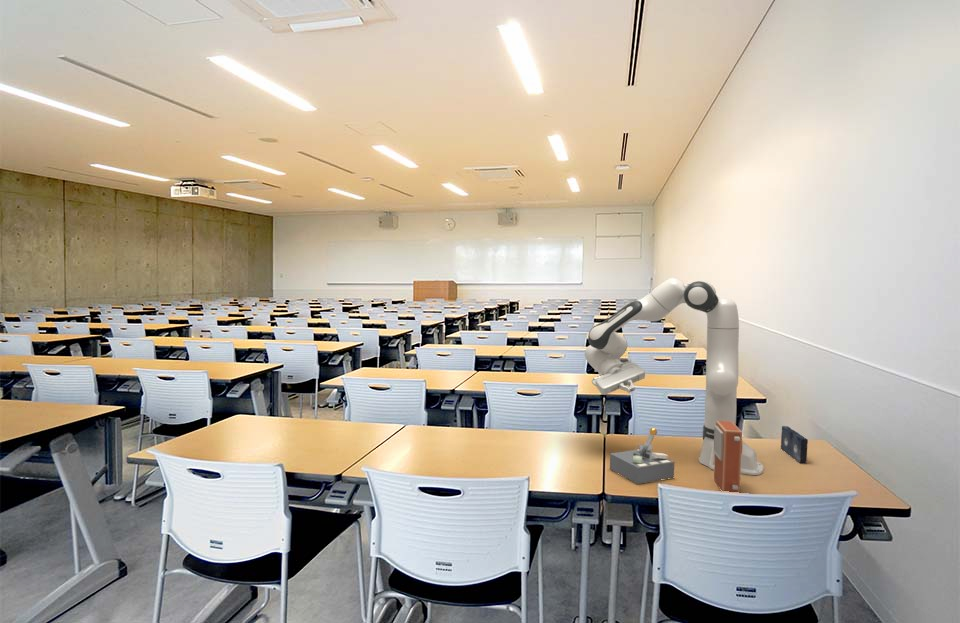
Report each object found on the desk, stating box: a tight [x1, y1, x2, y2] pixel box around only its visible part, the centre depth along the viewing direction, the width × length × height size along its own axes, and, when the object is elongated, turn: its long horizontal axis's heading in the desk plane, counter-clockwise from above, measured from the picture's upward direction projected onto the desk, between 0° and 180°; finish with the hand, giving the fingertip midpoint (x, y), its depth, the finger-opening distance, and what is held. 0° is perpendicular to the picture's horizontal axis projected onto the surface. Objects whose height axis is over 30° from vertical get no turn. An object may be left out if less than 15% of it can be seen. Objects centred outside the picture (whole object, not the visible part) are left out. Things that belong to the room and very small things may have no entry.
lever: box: [640, 427, 658, 456], centre depth 191 cm, size 3×3×13 cm
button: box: [633, 455, 642, 464], centre depth 189 cm, size 3×3×2 cm
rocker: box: [652, 452, 669, 459], centre depth 193 cm, size 3×5×1 cm, turn 112°
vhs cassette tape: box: [780, 425, 809, 465], centre depth 215 cm, size 18×3×10 cm, turn 170°
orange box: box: [713, 421, 743, 492], centre depth 183 cm, size 21×7×15 cm
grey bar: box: [637, 443, 654, 452], centre depth 201 cm, size 1×6×2 cm, turn 112°
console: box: [609, 448, 675, 485], centre depth 195 cm, size 16×16×8 cm
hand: (632, 390), depth 207 cm, fingers closed
